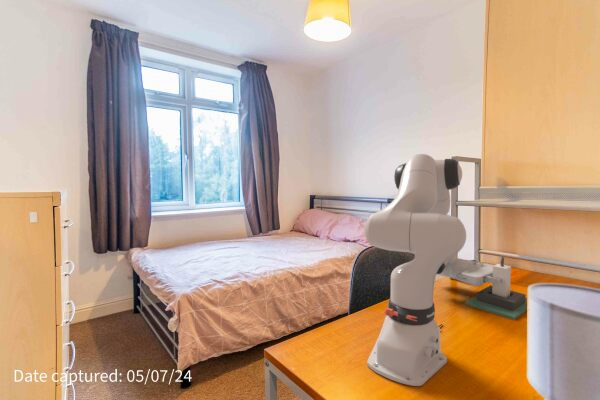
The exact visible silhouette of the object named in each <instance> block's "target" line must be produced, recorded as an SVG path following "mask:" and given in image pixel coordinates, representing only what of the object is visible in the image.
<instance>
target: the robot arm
mask: <svg viewBox="0 0 600 400" xmlns="http://www.w3.org/2000/svg"><path fill="white" fill-rule="evenodd" d="M462 179H463V171H462V167H461V165H460V164H459V161H457V160H456V159H453V158H445V159H434V158H433V157H432V156H431V155H429V154H427V153H426V154H424V153H418V154H415V155H413V156H411V157H410V158H409V159H408V160H407V162H405V163H403V164H399V165H398V166H397V167H396V169H395V170H394V175H393V180H394V181H393V182H394V184H395V187H396V188H397V193H396V195H395V198H394V199H393V200H392V201H391V202H390V203H388V204H387V205H386V206H385V207H383V208H382V209H380V210H378V211H376V212H374V213H371V215H370V216H368V218H367V219H366V222H365V224H364V235H365V236H364V237H365V238H366V241H367V242H368V243H369V245H370V246H371V247H375V248H378V249H382V250H385V251H389V252H390V251H391V252H400V253H401V252H402V253H411V254H414V258H413V259H412V260H411V261H408V262H405V263H401V264H400V265H398V266H396V267H395V268H393V270H392V271H391V274H390V297H389V298H388V303H387V307H385V310H384V315H385V318H384V321H383V324H382V326H381V330H380V333H379V336H378V337H377V340H376V342H375V344H374V346H373V348H372V349H371V352H370V354H369V357H368V359H367V363H366V365H367V367H368V368H370V369H371V370H372V371H373V372H375V373H376V374H378V375H381V376H382V377H384V378H387V379H389V380H391V381H394V382H397V383H400V384H404V385H407V386H413V387H422V386H423V385H424V384H425V383H426V382H428V380H429V379H430V378H432V377H433V376H434V375H435V374H436V373H438V371H439V370H440V369H441V368H442V367H444V366H445V365H446V364H447V363H448V357H447V356H446V354H444V353H443V352H442V351H441V350H442V349H441V345H442V343H441V329H440V326H438V324H437V322H436V321H435V314H436V308H435V303H434V300H433V299H434V289H435V282H436V281H435V280H436V277H437V275H438V276H442V277H444V278H445V277H446V278H449V277H452V278H453V279H454V280H457V281H461V282H462V283H466V284H468V285H471V286H474V287H481V286H483V285H484V284H487V283H489V284H492V283H497V284H501V283H502V279H501V278H493V266H494V265H495V264H490V263H487V262H482V261H481V262H480V260H479V259H478V260H477V259H465V258H464V259H462V258H458V253H459V252H460V251H461V250H462V249H463V248H464V246H465V244H466V241H467V230H466V227H465V225H464V222H462V221H461V219H460V218H458V217H457V216H453V215H449V212H450V210H451V209H450V208H451V196H450V195H451V194H450V191H451V190H453V189H456V188H457V187H459V186H460V184H461V182H462Z"/></svg>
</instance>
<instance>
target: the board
mask: <svg viewBox="0 0 600 400" xmlns="http://www.w3.org/2000/svg"><path fill="white" fill-rule="evenodd" d="M527 298H528V297H527V294H526V293H523V292H518V291H514V290H511V289H510V297H509V298H505V297H501V296H498V295H494V294H492V285H488V286H486V287H484V288H483V289H481V290H479V291H477V292H476V295H475V296H474V297H472V298H470V299H468V300H466V301H465V302H464V305H465V306H469V307H472V308H475V309H478V310H481V311H485V312H488V313H490V314H494V315H497V316H500V317H504V318H506V319H510V320H513V321H515V320H517V319H518V318H519V317H521V316H522V315H523V314H524V313H526V312H527V311H528V310H527Z"/></svg>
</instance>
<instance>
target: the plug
mask: <svg viewBox="0 0 600 400" xmlns="http://www.w3.org/2000/svg"><path fill="white" fill-rule="evenodd" d="M493 265H494V266H493V278H501V279H502V283H501V284H497V283H491V284H492V285H491V286H492V294H494V295H498V296H501V297H505V298H509V297H510V290H511V277H512V266H510V265H505V258H504V257H503V256H501V257H500V263H497V264H496V263H495V264H493Z"/></svg>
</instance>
